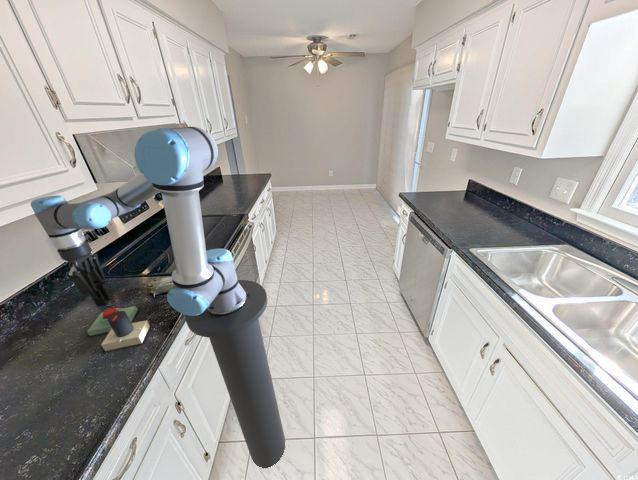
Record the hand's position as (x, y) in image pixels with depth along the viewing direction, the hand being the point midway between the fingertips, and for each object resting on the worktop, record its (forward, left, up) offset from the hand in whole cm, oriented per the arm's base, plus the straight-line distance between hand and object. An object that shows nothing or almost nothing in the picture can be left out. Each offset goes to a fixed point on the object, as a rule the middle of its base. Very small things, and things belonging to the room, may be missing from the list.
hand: (104, 302), depth 91 cm
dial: (-8, +10, -6) cm, 15 cm away
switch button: (0, 0, -6) cm, 6 cm away
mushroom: (-14, -16, -10) cm, 24 cm away
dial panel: (-8, +10, -9) cm, 17 cm away
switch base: (0, 0, -9) cm, 9 cm away
